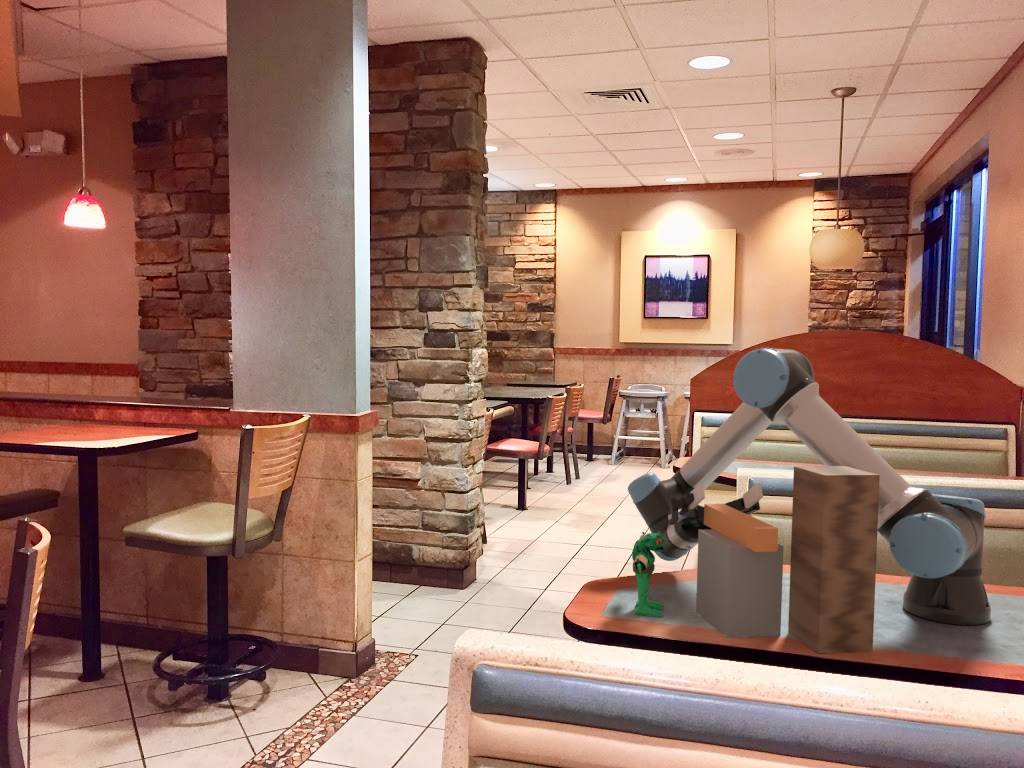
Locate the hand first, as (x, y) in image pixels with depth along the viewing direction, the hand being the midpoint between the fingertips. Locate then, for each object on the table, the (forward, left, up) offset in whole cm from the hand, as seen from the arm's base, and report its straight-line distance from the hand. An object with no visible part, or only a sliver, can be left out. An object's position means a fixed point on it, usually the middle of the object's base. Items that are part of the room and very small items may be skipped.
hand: (731, 490), depth 154 cm
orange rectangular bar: (0, +3, -8) cm, 9 cm away
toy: (+14, -5, -24) cm, 28 cm away
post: (-12, +15, -24) cm, 31 cm away
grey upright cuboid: (0, +4, -24) cm, 24 cm away
